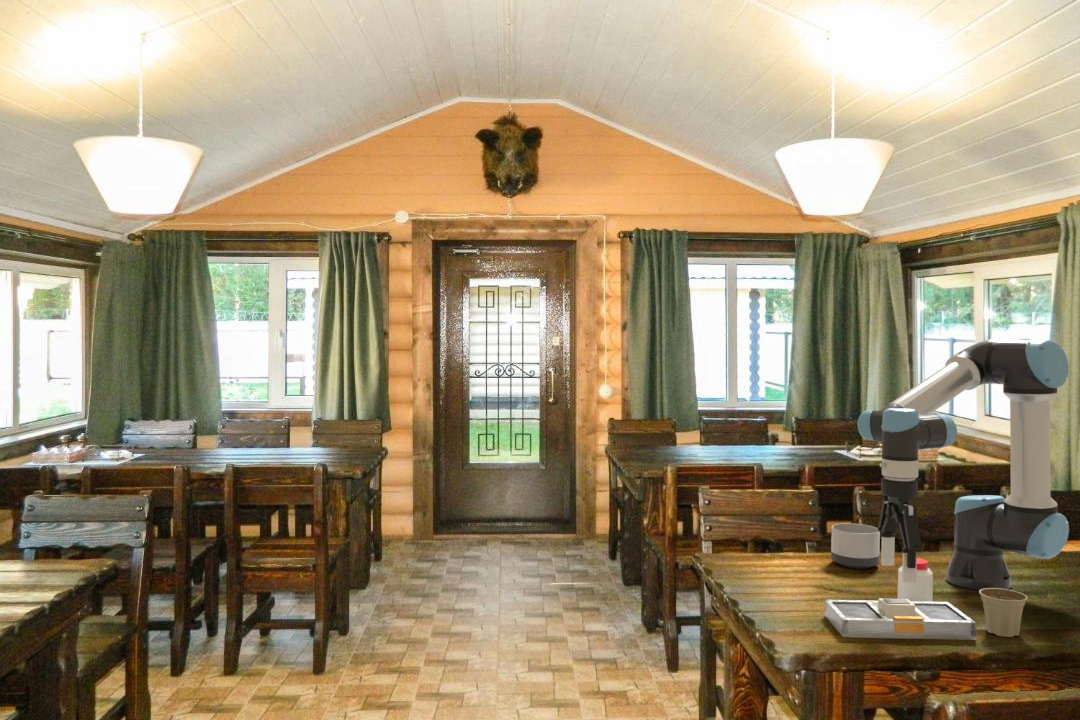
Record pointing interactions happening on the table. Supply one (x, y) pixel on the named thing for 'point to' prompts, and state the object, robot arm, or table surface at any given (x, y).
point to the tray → (899, 621)
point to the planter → (855, 545)
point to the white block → (896, 607)
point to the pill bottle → (917, 584)
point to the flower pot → (1003, 610)
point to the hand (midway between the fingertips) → (898, 573)
